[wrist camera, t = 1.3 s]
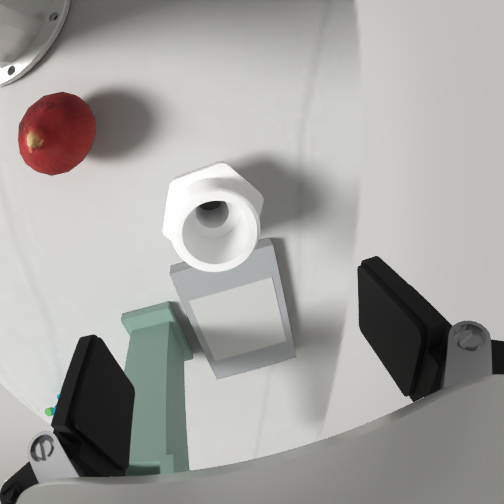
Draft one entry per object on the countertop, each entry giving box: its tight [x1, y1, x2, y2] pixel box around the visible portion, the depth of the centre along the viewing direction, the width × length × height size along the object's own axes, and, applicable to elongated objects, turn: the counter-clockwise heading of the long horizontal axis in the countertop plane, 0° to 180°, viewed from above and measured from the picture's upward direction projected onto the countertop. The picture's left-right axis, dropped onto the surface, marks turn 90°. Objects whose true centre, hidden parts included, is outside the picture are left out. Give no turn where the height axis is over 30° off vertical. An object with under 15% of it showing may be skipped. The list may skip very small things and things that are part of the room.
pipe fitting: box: [163, 161, 264, 272], centre depth 21 cm, size 6×7×8 cm
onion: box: [18, 92, 96, 176], centre depth 17 cm, size 6×6×8 cm
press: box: [111, 238, 296, 477], centre depth 21 cm, size 14×16×20 cm
